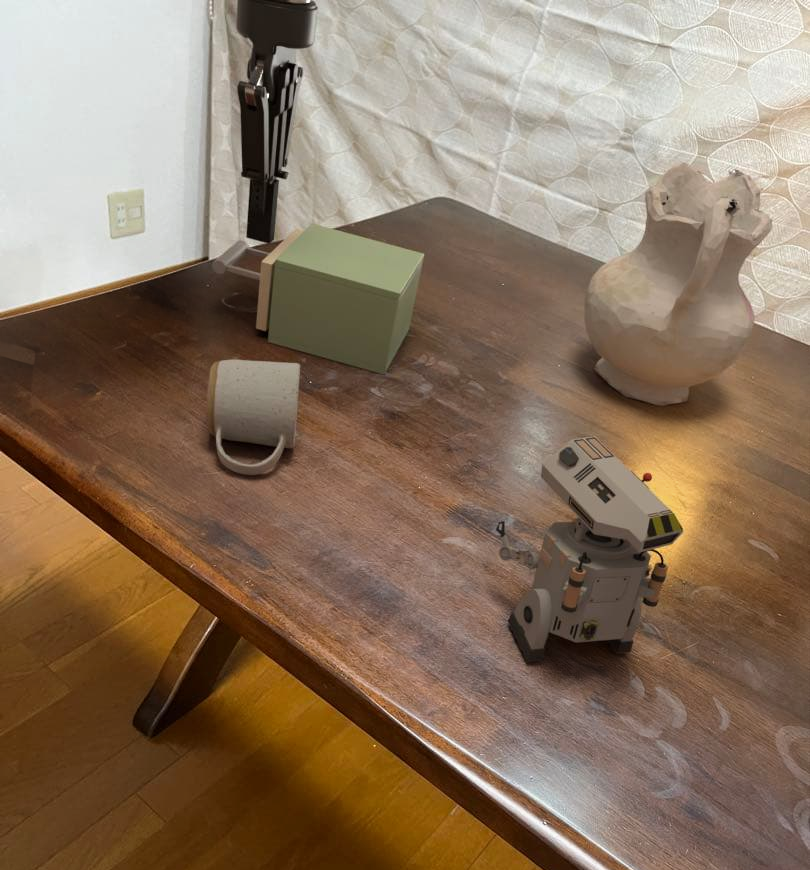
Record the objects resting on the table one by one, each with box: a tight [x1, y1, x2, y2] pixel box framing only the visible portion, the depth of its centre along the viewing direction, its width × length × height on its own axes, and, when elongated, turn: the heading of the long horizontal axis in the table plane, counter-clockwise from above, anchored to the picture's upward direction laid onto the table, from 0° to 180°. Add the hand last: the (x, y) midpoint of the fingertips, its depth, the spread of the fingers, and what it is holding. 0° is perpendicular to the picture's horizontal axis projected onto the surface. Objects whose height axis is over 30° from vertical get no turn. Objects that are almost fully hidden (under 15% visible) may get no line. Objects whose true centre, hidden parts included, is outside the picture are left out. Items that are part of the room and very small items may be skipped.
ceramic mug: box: [205, 359, 301, 476], centre depth 78 cm, size 11×8×8 cm
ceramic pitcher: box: [583, 161, 773, 407], centre depth 98 cm, size 22×20×25 cm
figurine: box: [495, 436, 684, 662], centre depth 64 cm, size 9×12×15 cm
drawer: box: [211, 228, 305, 332], centre depth 98 cm, size 19×11×8 cm, turn 77°
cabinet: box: [267, 223, 425, 375], centre depth 98 cm, size 14×13×10 cm
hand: (260, 238), depth 96 cm, fingers closed
